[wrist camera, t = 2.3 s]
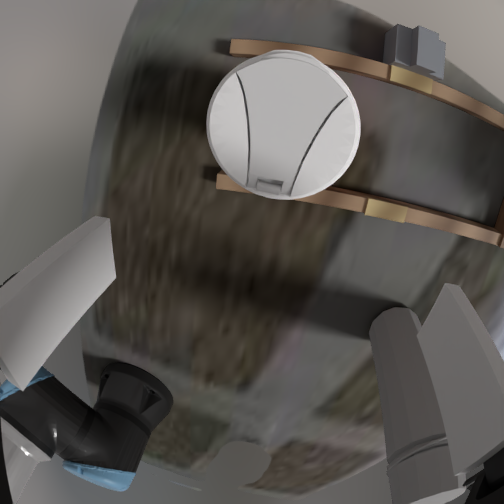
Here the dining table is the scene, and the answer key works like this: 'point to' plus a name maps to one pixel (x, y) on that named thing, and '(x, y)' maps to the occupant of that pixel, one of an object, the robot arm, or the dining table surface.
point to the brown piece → (370, 203)
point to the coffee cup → (283, 125)
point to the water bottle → (411, 414)
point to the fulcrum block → (415, 51)
